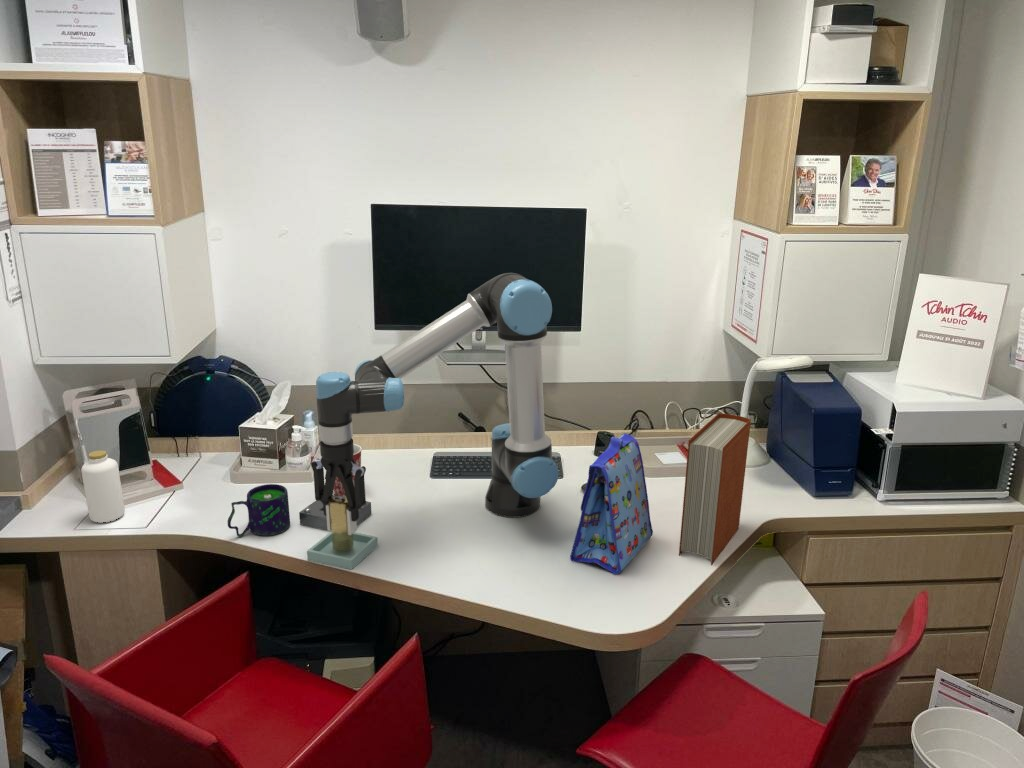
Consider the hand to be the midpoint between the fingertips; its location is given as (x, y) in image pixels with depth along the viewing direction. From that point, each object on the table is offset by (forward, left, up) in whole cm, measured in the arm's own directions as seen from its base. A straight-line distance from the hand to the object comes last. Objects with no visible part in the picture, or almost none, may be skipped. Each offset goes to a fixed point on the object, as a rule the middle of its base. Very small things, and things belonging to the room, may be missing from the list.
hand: (342, 529), depth 184 cm
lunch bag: (-60, -26, -6) cm, 66 cm away
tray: (0, 0, -6) cm, 6 cm away
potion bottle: (+67, +7, -6) cm, 68 cm away
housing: (+11, -14, -6) cm, 19 cm away
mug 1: (+26, -2, -6) cm, 27 cm away
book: (-82, -39, -6) cm, 91 cm away
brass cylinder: (0, 0, -4) cm, 4 cm away
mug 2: (+17, -30, -6) cm, 35 cm away
